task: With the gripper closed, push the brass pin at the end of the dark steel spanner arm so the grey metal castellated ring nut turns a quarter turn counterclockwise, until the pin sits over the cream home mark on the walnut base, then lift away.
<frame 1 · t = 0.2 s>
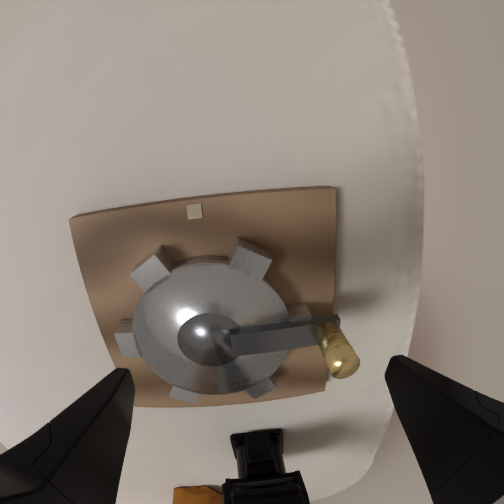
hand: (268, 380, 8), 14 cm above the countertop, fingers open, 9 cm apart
walnut base: (212, 316, 23), on the countertop
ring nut: (224, 351, 19), point 5 cm above the countertop, hinge at 0.0°
coffee package: (204, 494, 37), on the countertop
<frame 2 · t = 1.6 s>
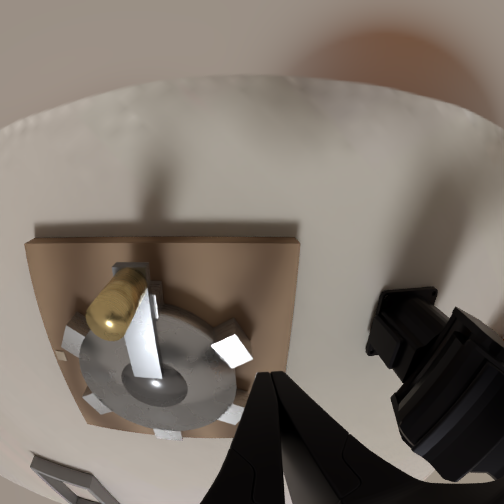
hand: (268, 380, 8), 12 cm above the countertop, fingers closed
walnut base: (161, 355, 21), on the countertop
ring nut: (148, 388, 16), point 5 cm above the countertop, hinge at 0.0°
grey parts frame: (83, 488, 31), on the countertop
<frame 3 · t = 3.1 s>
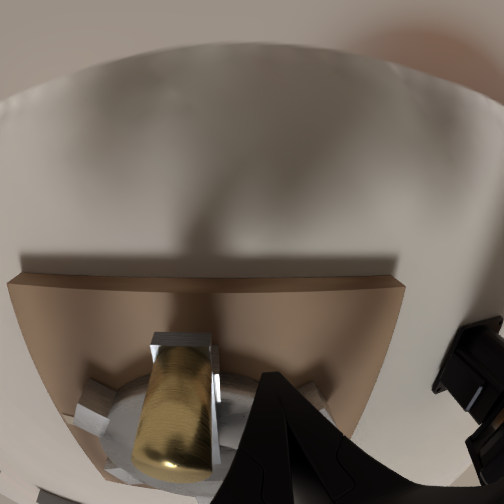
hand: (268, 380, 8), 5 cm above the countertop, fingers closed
walnut base: (204, 419, 16), on the countertop
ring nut: (202, 476, 11), point 5 cm above the countertop, hinge at 0.5°, touching gripper
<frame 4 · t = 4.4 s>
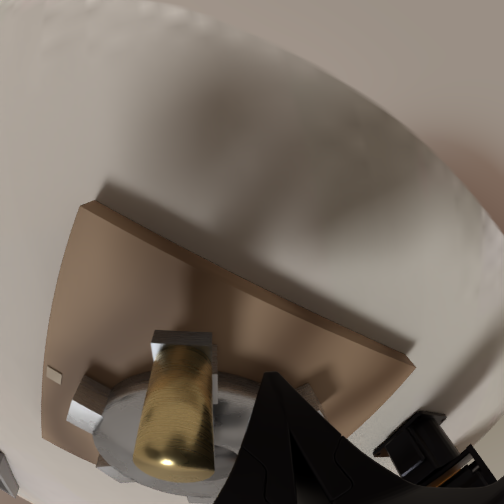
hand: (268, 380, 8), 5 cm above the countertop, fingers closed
walnut base: (198, 418, 16), on the countertop
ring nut: (196, 476, 11), point 5 cm above the countertop, hinge at 26.7°, touching gripper
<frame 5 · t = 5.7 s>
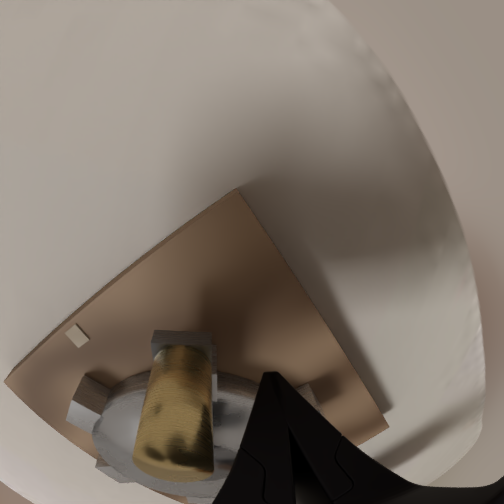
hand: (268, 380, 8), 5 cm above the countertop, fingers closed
walnut base: (197, 419, 16), on the countertop
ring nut: (195, 476, 11), point 5 cm above the countertop, hinge at 52.5°, touching gripper
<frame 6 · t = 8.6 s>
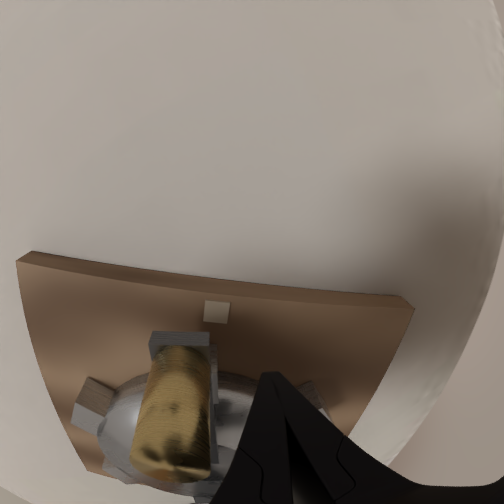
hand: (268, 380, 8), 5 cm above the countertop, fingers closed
walnut base: (202, 418, 16), on the countertop
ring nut: (200, 476, 11), point 5 cm above the countertop, hinge at 97.6°, touching gripper
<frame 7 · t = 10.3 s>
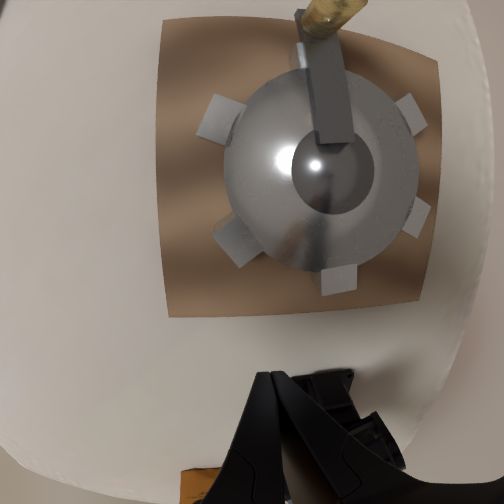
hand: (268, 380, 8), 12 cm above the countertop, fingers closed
walnut base: (314, 167, 18), on the countertop
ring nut: (343, 152, 13), point 5 cm above the countertop, hinge at 98.0°
coffee package: (218, 480, 31), on the countertop
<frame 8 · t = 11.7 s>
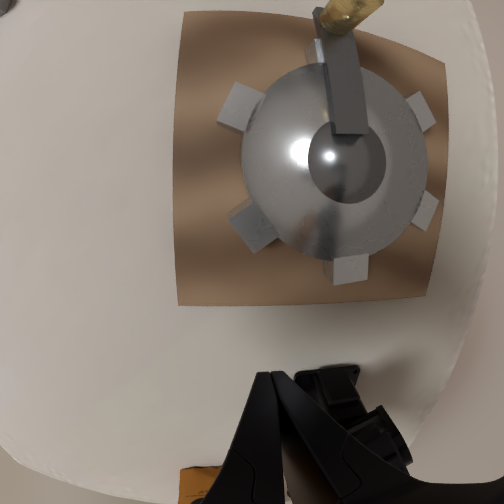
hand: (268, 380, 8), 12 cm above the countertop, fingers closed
walnut base: (327, 159, 18), on the countertop
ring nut: (358, 142, 13), point 5 cm above the countertop, hinge at 98.0°
coffee package: (218, 479, 30), on the countertop
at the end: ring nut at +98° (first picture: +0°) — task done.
